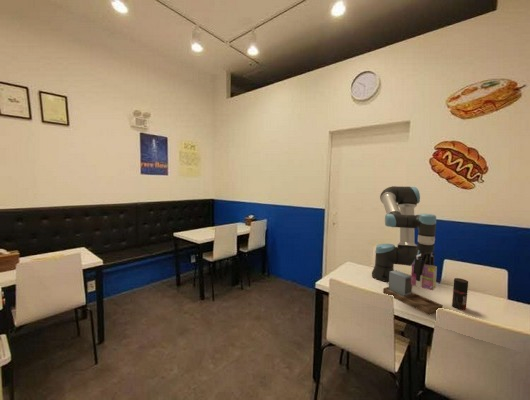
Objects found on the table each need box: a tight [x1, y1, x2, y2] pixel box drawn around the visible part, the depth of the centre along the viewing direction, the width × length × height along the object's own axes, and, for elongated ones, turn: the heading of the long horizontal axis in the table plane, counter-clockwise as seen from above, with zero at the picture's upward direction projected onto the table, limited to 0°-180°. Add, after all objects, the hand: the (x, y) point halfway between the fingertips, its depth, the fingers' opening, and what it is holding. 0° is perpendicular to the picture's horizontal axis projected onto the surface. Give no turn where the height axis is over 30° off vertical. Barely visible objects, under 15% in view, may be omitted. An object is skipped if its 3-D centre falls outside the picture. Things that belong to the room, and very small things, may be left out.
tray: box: [382, 286, 444, 316], centre depth 139 cm, size 27×11×3 cm, turn 26°
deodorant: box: [451, 277, 469, 311], centre depth 132 cm, size 6×6×15 cm
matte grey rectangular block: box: [388, 269, 413, 296], centre depth 144 cm, size 11×6×12 cm, turn 26°
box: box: [410, 262, 438, 292], centre depth 132 cm, size 10×6×12 cm, turn 43°
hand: (423, 285), depth 132 cm, fingers closed on box, 7 cm apart
